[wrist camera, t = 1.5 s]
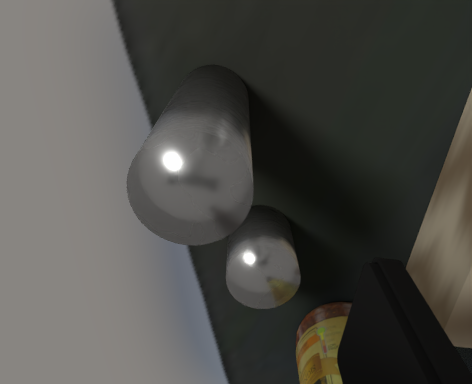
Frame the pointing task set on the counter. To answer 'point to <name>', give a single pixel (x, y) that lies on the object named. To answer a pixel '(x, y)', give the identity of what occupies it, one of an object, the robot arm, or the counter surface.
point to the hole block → (449, 240)
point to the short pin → (262, 260)
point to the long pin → (196, 161)
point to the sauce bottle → (321, 343)
